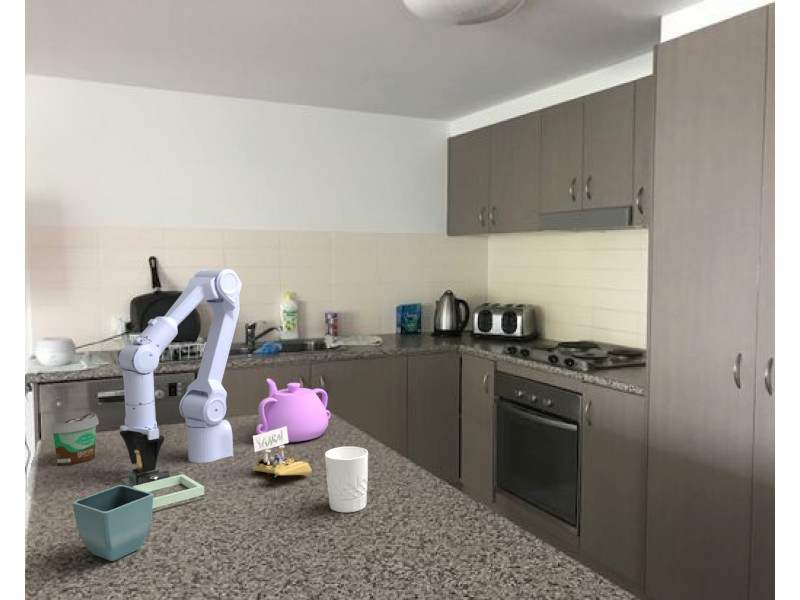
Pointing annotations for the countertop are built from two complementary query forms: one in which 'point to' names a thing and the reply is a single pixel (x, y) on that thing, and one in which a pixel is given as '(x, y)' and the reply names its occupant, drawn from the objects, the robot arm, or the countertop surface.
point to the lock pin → (139, 462)
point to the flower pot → (114, 520)
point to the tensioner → (144, 477)
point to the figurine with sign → (277, 455)
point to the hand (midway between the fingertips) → (143, 466)
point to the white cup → (347, 478)
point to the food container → (75, 440)
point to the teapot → (294, 412)
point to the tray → (193, 491)
